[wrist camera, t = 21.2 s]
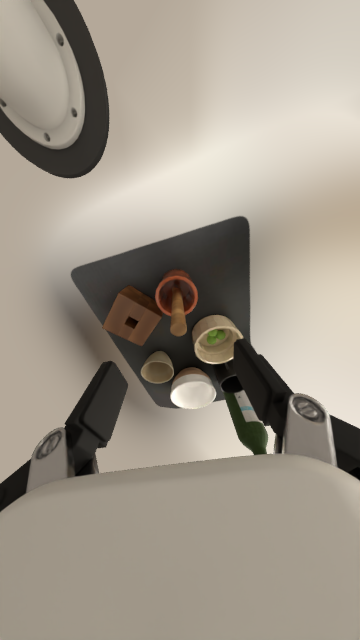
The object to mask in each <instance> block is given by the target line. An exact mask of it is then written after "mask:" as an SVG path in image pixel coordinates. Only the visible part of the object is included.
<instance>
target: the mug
mask: <svg viewBox="0 0 360 640" xmlns="http://www.w3.org/2000/svg"><path fill="white" fill-rule="evenodd" d="M213 368H214V371H215V374H216V377H217V380H218V383H219V386H220V389H221V390H222V391H223V392H226V393H238V392H241V391H243V390H244V389H243V387H242V385H241V383H240V381H239V379H238V377H237V375H236V373H235V371H234V368H233V359H231V360H230V361H228V362H225V363H221V364H213Z"/></svg>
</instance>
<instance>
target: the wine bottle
mask: <svg viewBox="0 0 360 640" xmlns="http://www.w3.org/2000/svg"><path fill="white" fill-rule="evenodd" d="M223 394H224V397H225V400H226V403H227V406H228V408H229V412H230V415H231V418H232V420H233V423H234V426H235V429H236V432H237V435H238V438H239V440H240V441H241V442H242V443H243V445H244V446H246V447H247V448H248V449H250V450H251V451H252V452H253V454H254V455H262V454H267V452H266V445H267V442H268V434H267V431H266V429H265V427H264V425H263V423H262V421H260V420H259V419H258V418H257V416H256V414H255V412H254V410H253V408H252V406H251V403H250V401H249V399H248V397H247V395H246V393H245V391H244V390H243V391H241V392H238V393H226V392H223Z"/></svg>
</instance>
